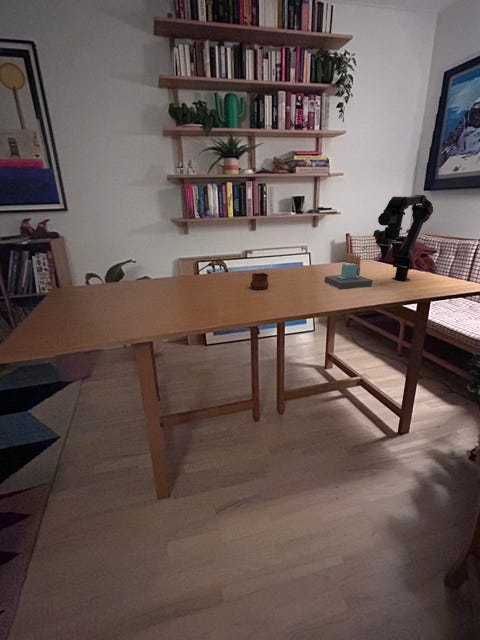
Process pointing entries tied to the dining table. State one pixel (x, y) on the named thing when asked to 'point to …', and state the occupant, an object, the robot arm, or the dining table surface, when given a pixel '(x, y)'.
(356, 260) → the ammunition clip
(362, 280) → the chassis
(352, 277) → the servo
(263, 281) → the ceramic pot
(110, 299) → the dining table surface
